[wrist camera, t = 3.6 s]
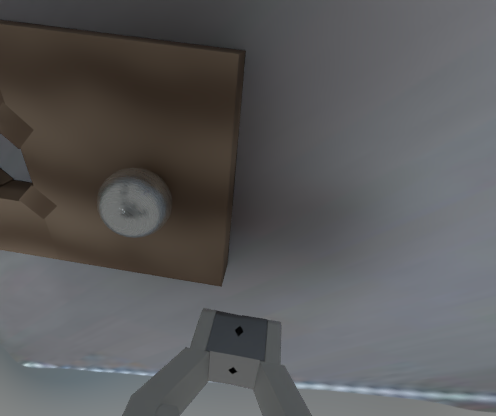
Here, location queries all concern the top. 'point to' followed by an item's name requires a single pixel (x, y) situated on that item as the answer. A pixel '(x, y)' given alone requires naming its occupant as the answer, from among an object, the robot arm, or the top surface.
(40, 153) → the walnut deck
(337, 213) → the top surface
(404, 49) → the top surface
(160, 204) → the steel ball
